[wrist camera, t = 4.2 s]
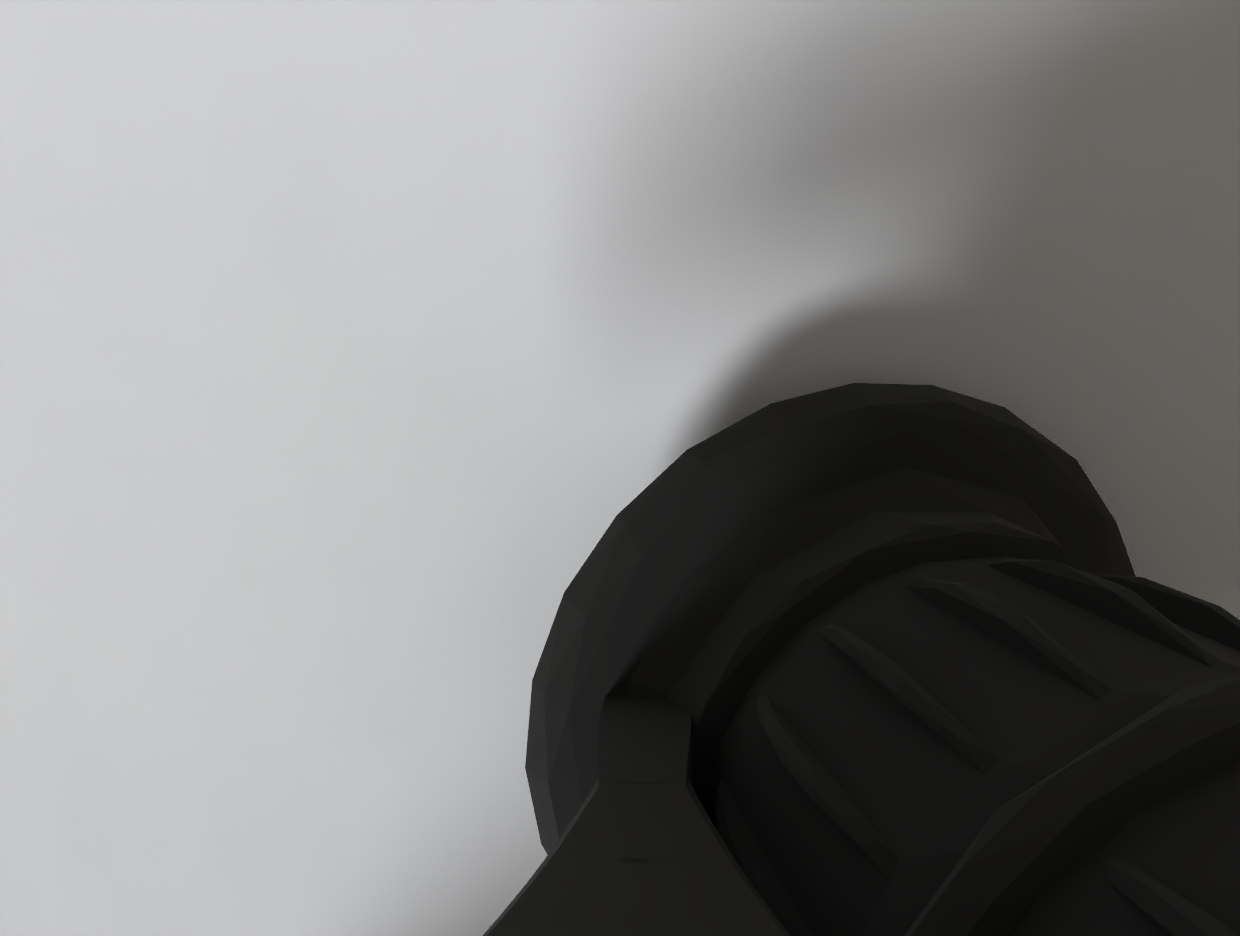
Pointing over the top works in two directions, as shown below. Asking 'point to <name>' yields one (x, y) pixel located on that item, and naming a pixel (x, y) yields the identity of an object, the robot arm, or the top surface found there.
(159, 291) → the top surface
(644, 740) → the robot arm
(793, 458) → the handle grip
